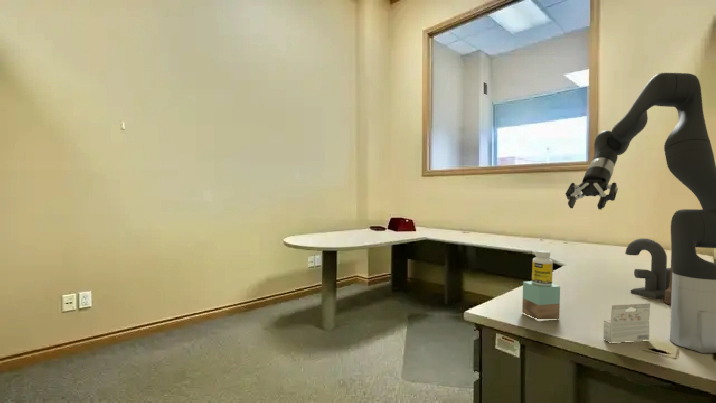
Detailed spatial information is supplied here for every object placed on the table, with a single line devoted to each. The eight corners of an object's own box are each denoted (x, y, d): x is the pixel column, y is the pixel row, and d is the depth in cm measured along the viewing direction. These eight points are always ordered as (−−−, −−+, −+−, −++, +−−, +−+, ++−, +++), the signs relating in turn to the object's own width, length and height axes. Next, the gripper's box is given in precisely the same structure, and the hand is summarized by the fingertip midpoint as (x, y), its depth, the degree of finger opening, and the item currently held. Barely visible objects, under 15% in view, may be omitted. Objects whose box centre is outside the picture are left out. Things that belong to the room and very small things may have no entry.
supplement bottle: (531, 284, 108) (532, 251, 108) (532, 280, 113) (532, 249, 112) (552, 287, 105) (553, 253, 105) (552, 283, 110) (552, 250, 110)
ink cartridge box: (602, 340, 93) (603, 302, 92) (640, 338, 94) (642, 300, 94) (610, 344, 90) (612, 305, 90) (649, 342, 92) (651, 303, 92)
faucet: (640, 284, 150) (641, 235, 150) (686, 294, 135) (688, 240, 135) (609, 288, 144) (611, 237, 143) (654, 299, 129) (656, 242, 128)
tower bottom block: (559, 320, 107) (559, 303, 107) (538, 322, 105) (538, 304, 105) (542, 312, 114) (542, 296, 113) (522, 314, 112) (522, 297, 112)
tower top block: (559, 303, 107) (560, 286, 106) (539, 305, 105) (539, 287, 105) (542, 296, 113) (542, 280, 113) (522, 298, 112) (523, 281, 112)
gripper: (573, 166, 131) (558, 198, 125) (620, 164, 120) (606, 199, 114) (579, 181, 135) (564, 213, 128) (625, 181, 124) (612, 216, 117)
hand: (584, 207), depth 121 cm, fingers open, 8 cm apart
